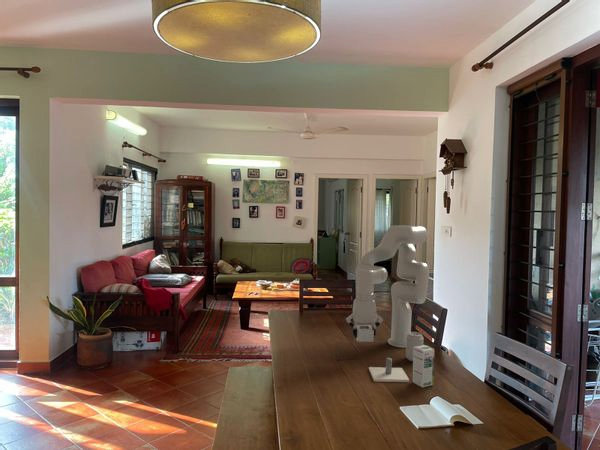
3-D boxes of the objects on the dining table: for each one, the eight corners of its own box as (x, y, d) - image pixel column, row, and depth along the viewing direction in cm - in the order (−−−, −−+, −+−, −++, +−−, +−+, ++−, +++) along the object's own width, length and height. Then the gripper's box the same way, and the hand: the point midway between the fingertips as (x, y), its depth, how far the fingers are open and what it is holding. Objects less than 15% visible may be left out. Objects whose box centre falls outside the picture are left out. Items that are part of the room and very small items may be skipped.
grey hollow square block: (370, 335, 185) (370, 324, 184) (373, 341, 178) (373, 330, 177) (355, 335, 185) (355, 324, 184) (357, 341, 178) (357, 330, 177)
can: (423, 358, 191) (424, 332, 191) (421, 363, 184) (422, 337, 184) (407, 355, 194) (408, 330, 194) (404, 360, 188) (405, 334, 187)
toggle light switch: (401, 370, 176) (402, 354, 176) (409, 382, 164) (410, 364, 164) (368, 369, 176) (369, 353, 176) (374, 381, 164) (374, 364, 164)
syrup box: (422, 388, 159) (424, 350, 159) (411, 382, 165) (413, 346, 164) (433, 385, 162) (435, 348, 161) (422, 379, 167) (424, 344, 167)
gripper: (383, 294, 184) (382, 334, 185) (343, 294, 184) (343, 334, 185) (386, 299, 176) (385, 340, 178) (345, 299, 176) (345, 340, 177)
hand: (364, 336), depth 181 cm, fingers closed on grey hollow square block, 7 cm apart
